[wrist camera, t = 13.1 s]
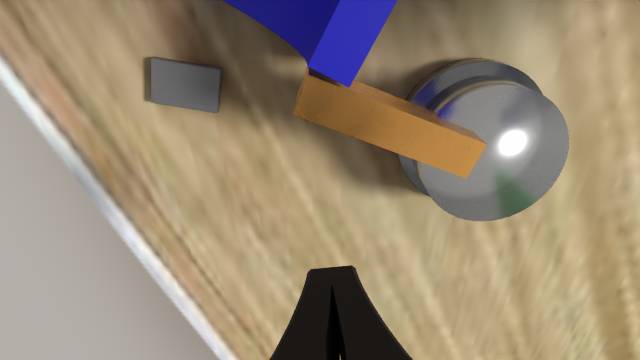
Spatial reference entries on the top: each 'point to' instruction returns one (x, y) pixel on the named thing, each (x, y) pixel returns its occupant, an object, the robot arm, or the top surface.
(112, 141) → the top surface
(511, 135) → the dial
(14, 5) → the top surface
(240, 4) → the cable clip
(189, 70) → the grey block
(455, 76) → the dial housing
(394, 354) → the robot arm
